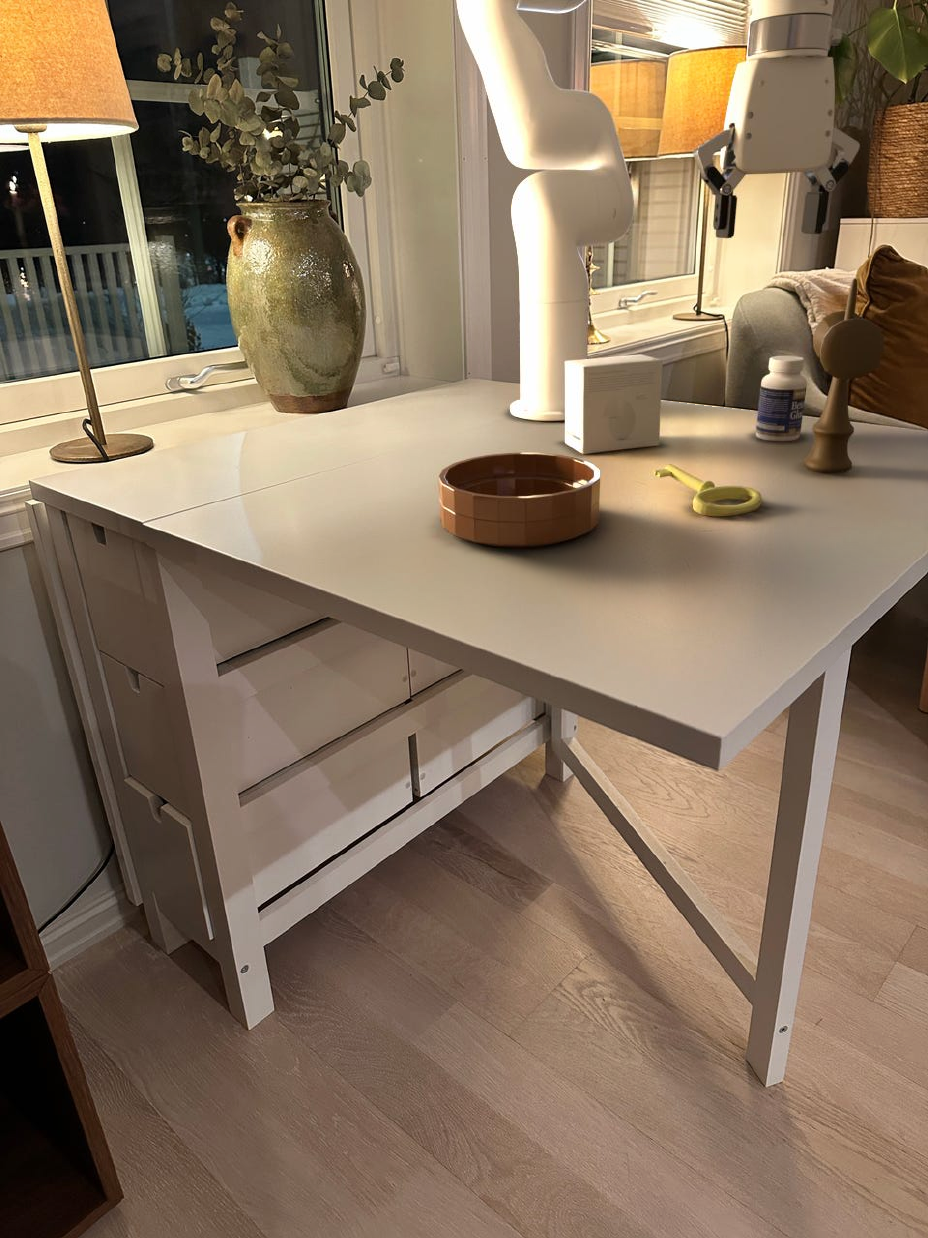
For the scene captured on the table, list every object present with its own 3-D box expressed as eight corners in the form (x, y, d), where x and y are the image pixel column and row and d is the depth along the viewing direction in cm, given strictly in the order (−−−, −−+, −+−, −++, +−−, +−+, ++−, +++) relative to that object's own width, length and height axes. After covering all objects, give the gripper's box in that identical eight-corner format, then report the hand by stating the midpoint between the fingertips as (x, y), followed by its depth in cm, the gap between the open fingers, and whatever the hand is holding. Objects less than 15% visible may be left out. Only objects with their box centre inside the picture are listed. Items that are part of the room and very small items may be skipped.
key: (666, 481, 97) (667, 462, 96) (769, 504, 88) (772, 484, 87) (626, 496, 92) (627, 476, 91) (730, 523, 84) (732, 501, 83)
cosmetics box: (637, 434, 116) (641, 351, 111) (660, 446, 110) (665, 359, 105) (562, 442, 113) (563, 358, 109) (581, 454, 108) (583, 366, 103)
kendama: (803, 481, 95) (829, 282, 86) (794, 457, 103) (817, 274, 95) (863, 483, 93) (896, 282, 85) (849, 459, 102) (878, 273, 93)
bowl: (431, 506, 92) (428, 459, 89) (572, 494, 94) (573, 447, 92) (455, 558, 78) (453, 504, 76) (620, 542, 80) (622, 489, 78)
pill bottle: (794, 444, 109) (804, 362, 104) (750, 439, 111) (758, 360, 107) (804, 434, 113) (814, 355, 109) (761, 430, 115) (770, 353, 111)
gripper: (850, 48, 90) (826, 231, 98) (688, 51, 88) (676, 237, 96) (893, 35, 84) (864, 233, 91) (718, 38, 82) (703, 240, 89)
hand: (768, 235), depth 93 cm, fingers open, 9 cm apart
